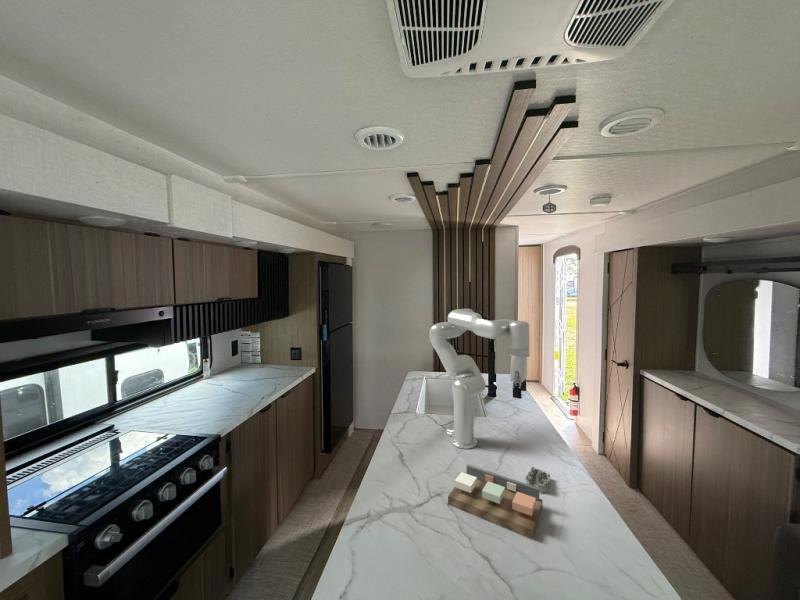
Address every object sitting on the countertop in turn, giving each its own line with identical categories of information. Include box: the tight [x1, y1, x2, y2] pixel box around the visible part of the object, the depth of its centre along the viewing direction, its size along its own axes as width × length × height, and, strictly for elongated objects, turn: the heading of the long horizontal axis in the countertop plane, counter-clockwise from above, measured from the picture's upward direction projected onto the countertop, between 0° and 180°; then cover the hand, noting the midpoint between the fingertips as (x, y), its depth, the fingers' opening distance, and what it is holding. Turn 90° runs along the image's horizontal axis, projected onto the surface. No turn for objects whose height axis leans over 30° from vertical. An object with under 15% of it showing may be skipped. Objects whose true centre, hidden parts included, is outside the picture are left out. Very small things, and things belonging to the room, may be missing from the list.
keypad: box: [447, 464, 544, 540], centre depth 112 cm, size 28×16×7 cm, turn 56°
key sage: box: [482, 481, 505, 504], centre depth 111 cm, size 6×6×2 cm
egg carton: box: [525, 466, 551, 494], centre depth 124 cm, size 11×8×4 cm
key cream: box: [454, 471, 477, 493], centre depth 116 cm, size 6×6×2 cm
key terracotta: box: [512, 492, 536, 516], centre depth 105 cm, size 6×6×2 cm
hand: (519, 394), depth 130 cm, fingers open, 9 cm apart
